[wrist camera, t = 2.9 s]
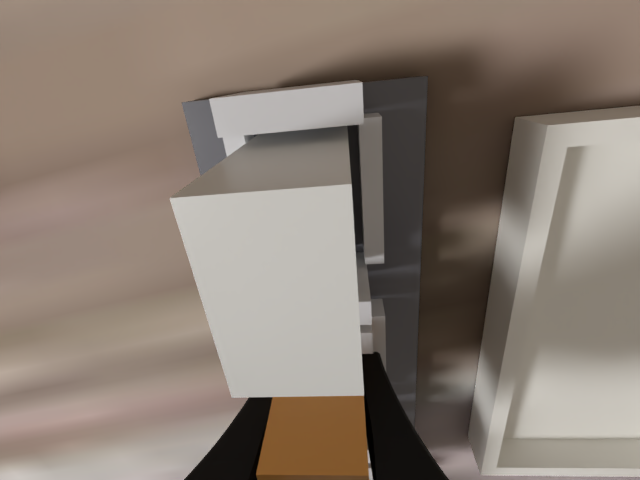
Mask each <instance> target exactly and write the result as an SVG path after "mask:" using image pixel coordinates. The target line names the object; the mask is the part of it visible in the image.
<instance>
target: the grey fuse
mask: <svg viewBox="0 0 640 480" xmlns="http://www.w3.org/2000/svg"><path fill="white" fill-rule="evenodd" d="M170 201H171V204H172V208H173V211H174V214H175V217H176V220H177V224H178V227H179V230H180V233H181V236H182V240H183V243H184V246H185V249H186V252H187V256H188V259H189V262H190V265H191V268H192V272H193V275H194V278H195V281H196V284H197V287H198V291H199V294H200V297H201V300H202V303H203V307H204V310H205V313H206V316H207V319H208V323H209V326H210V329H211V332H212V335H213V339H214V342H215V345H216V348H217V351H218V355H219V358H220V361H221V364H222V367H223V371H224V374H225V377H226V380H227V383H228V387H229V390H230V393H231V396H232V398H240V397H307V396H364V383H363V367H362V350H361V333H360V317H359V300H358V283H357V266H356V250H355V233H354V216H353V200H352V183H351V170H350V156H349V143H348V130H347V126H338V127H327V128H317V129H307V130H296V131H286V132H275V133H265V134H258V135H257V136H255V137H254V138H253V139H251V140H250V141H248V142H247V143H246V144H244V145H243V146H241V147H240V148H239V149H237V150H236V151H234V152H233V153H232V154H230V155H229V156H227V157H226V158H225V159H223V160H222V161H221V162H219V163H218V164H216V165H215V166H214V167H212V168H211V169H209V170H208V171H207V172H205V173H204V174H202V175H201V176H200V177H198V178H197V179H196V180H194V181H193V182H191V183H190V184H189V185H187V186H186V187H184V188H183V189H182V190H180V191H179V192H177V193H176V194H175V195H173V196H172V197H171V198H170Z"/></svg>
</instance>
